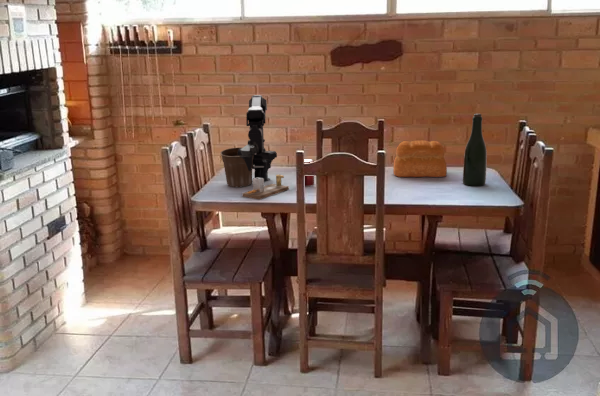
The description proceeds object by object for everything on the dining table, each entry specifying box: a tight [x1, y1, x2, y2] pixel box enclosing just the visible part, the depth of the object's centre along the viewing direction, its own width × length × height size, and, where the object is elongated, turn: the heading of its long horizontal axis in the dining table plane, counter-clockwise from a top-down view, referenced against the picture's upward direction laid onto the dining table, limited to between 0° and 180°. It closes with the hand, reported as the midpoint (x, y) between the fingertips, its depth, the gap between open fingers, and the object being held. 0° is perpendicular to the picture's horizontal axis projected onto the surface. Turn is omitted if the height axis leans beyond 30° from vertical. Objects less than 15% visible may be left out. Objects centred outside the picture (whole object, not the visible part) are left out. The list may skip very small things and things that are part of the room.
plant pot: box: [220, 147, 253, 188], centre depth 297 cm, size 16×16×16 cm
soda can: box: [304, 158, 315, 188], centre depth 294 cm, size 7×7×12 cm
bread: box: [392, 139, 448, 178], centre depth 310 cm, size 16×26×17 cm, turn 85°
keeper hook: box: [275, 174, 285, 186], centre depth 289 cm, size 2×4×5 cm, turn 53°
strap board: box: [242, 183, 290, 200], centre depth 282 cm, size 21×10×2 cm, turn 143°
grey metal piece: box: [247, 177, 265, 194], centre depth 275 cm, size 8×4×6 cm, turn 143°
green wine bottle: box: [462, 113, 488, 187], centre depth 286 cm, size 10×10×33 cm
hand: (257, 172), depth 276 cm, fingers open, 9 cm apart
